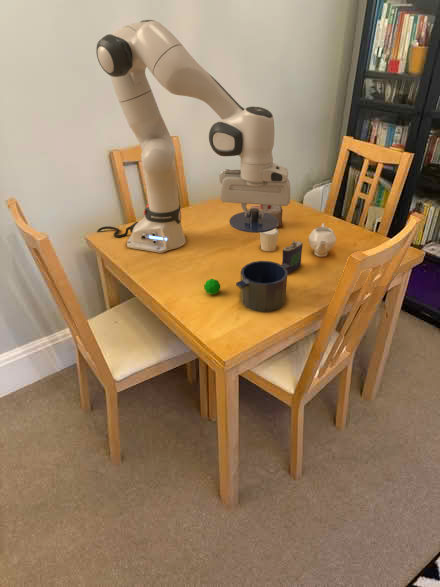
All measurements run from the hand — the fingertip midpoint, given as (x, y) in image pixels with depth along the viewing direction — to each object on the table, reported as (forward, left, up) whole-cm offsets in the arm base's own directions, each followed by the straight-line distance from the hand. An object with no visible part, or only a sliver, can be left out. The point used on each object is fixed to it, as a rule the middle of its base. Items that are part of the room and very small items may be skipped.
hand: (254, 217), depth 124 cm
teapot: (+22, +23, -23) cm, 39 cm away
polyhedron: (-12, -8, -23) cm, 27 cm away
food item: (0, +45, -23) cm, 50 cm away
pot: (+4, -9, -23) cm, 25 cm away
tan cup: (+3, +25, -23) cm, 34 cm away
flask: (+12, +10, -23) cm, 27 cm away
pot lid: (0, 0, -2) cm, 2 cm away
